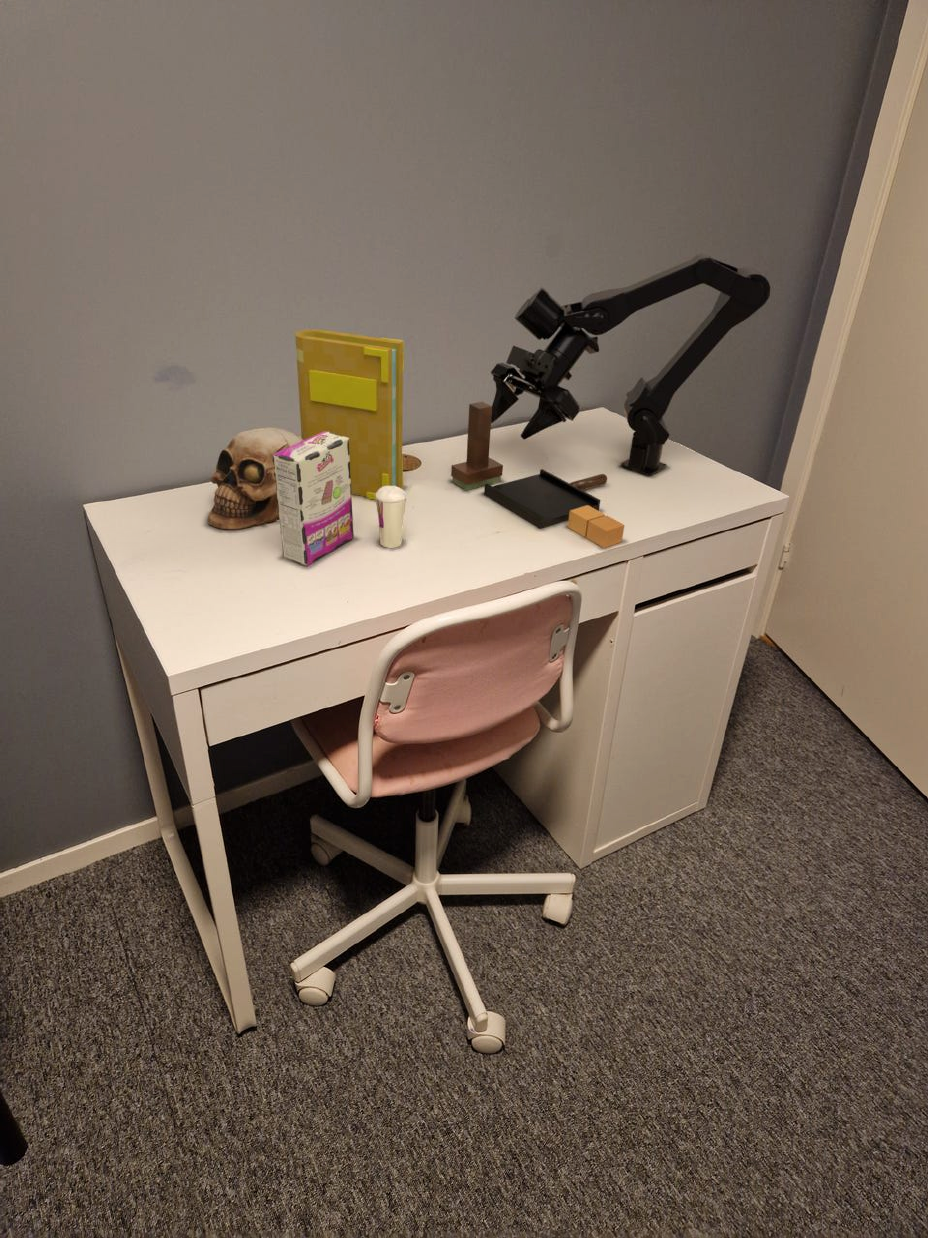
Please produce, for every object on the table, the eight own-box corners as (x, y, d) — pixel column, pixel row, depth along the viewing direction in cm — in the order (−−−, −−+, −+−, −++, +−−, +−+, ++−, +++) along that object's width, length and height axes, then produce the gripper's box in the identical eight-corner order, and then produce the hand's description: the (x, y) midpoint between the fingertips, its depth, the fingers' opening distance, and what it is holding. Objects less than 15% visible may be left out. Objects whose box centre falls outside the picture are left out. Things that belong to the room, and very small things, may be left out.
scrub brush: (486, 473, 154) (491, 397, 147) (501, 481, 151) (507, 405, 144) (450, 482, 150) (453, 404, 143) (465, 491, 147) (469, 412, 140)
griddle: (576, 469, 158) (578, 459, 156) (635, 499, 148) (637, 488, 147) (483, 494, 147) (484, 483, 145) (540, 528, 137) (541, 517, 135)
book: (403, 486, 148) (404, 340, 134) (387, 502, 142) (387, 351, 129) (315, 470, 152) (307, 326, 138) (297, 484, 147) (287, 336, 133)
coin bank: (202, 528, 131) (197, 443, 125) (225, 492, 146) (221, 415, 140) (305, 534, 132) (305, 449, 126) (317, 498, 148) (317, 421, 142)
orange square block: (604, 531, 137) (606, 515, 135) (621, 541, 134) (624, 524, 132) (585, 537, 135) (588, 520, 133) (603, 548, 132) (606, 530, 130)
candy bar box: (329, 530, 133) (324, 429, 124) (354, 538, 131) (351, 437, 122) (280, 557, 125) (271, 452, 116) (306, 567, 123) (299, 461, 114)
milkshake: (406, 552, 128) (407, 491, 122) (372, 548, 129) (371, 486, 123) (414, 539, 132) (415, 479, 126) (380, 534, 132) (380, 474, 127)
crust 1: (585, 521, 140) (587, 504, 138) (602, 531, 137) (605, 514, 135) (567, 527, 138) (569, 510, 136) (584, 537, 135) (586, 519, 133)
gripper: (502, 315, 149) (449, 387, 149) (574, 341, 137) (516, 420, 137) (533, 354, 157) (482, 423, 158) (603, 382, 145) (548, 456, 145)
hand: (505, 429), depth 149 cm, fingers open, 9 cm apart
